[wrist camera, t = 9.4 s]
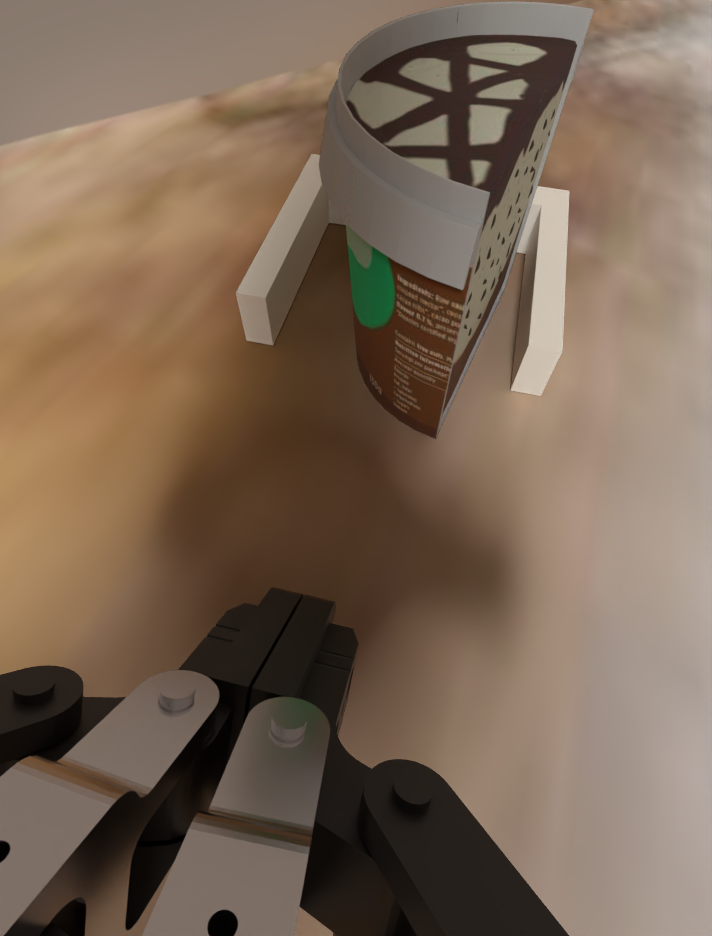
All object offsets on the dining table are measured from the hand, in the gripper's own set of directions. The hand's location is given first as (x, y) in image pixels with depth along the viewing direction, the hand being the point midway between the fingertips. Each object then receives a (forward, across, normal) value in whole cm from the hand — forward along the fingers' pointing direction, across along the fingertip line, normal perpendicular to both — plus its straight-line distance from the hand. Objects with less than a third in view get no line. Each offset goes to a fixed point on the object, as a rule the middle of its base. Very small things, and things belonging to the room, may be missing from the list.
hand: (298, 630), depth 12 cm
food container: (+13, 0, -7) cm, 15 cm away
